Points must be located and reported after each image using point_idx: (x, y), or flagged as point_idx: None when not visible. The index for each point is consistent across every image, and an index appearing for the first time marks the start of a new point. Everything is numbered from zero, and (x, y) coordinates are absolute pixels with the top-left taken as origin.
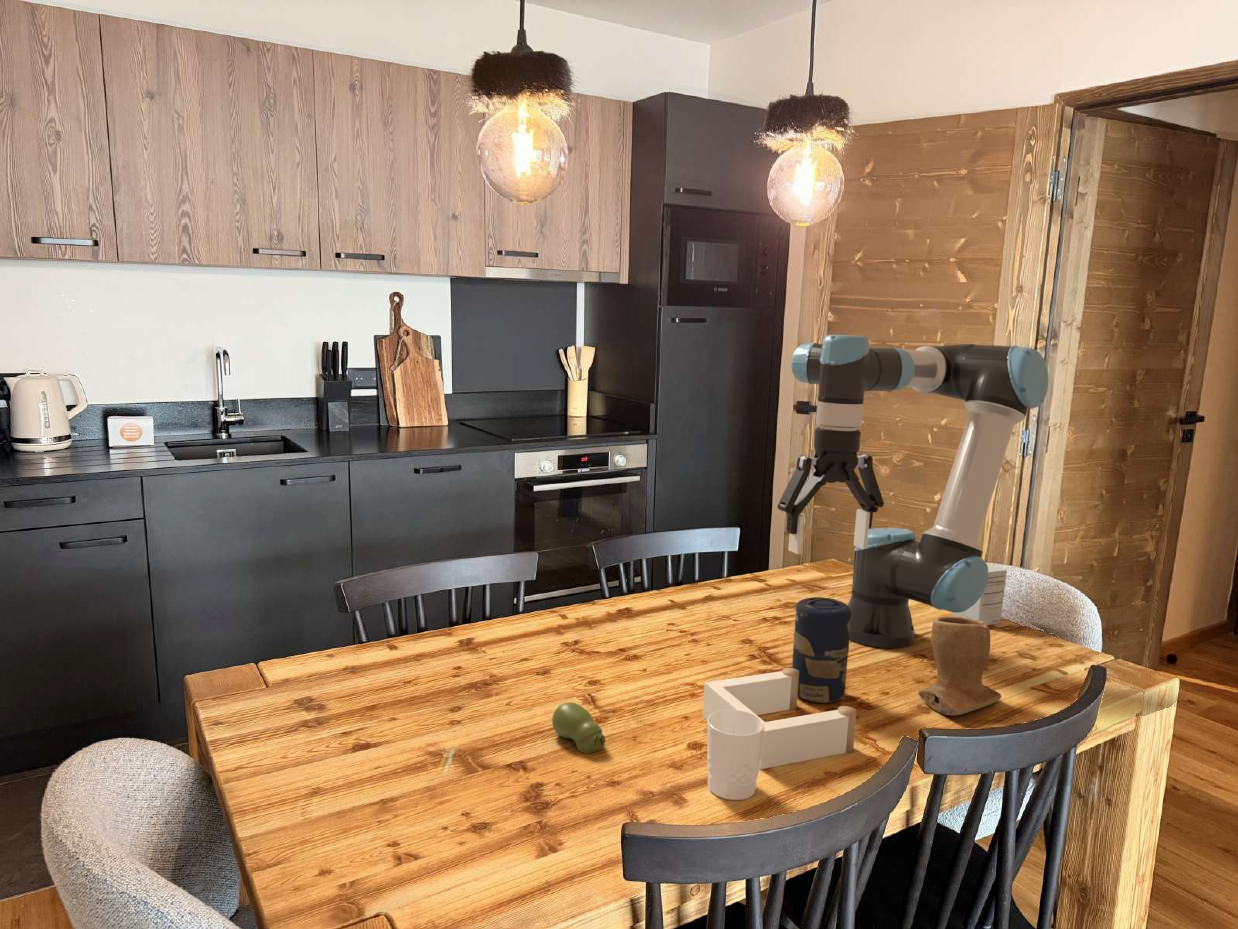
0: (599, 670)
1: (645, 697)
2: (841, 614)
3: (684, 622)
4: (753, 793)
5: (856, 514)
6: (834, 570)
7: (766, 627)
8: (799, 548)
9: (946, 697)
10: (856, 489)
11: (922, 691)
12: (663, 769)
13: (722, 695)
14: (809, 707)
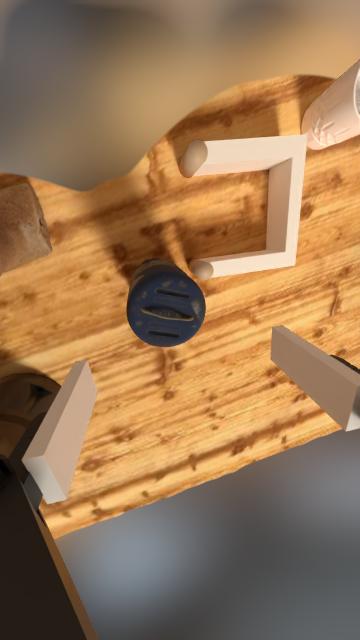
0: None
1: (297, 303)
2: (157, 275)
3: (203, 430)
4: (313, 101)
5: (72, 475)
6: None
7: (137, 421)
8: (286, 331)
9: (28, 207)
10: (83, 631)
11: (48, 245)
12: (348, 177)
13: (295, 232)
14: (177, 260)
